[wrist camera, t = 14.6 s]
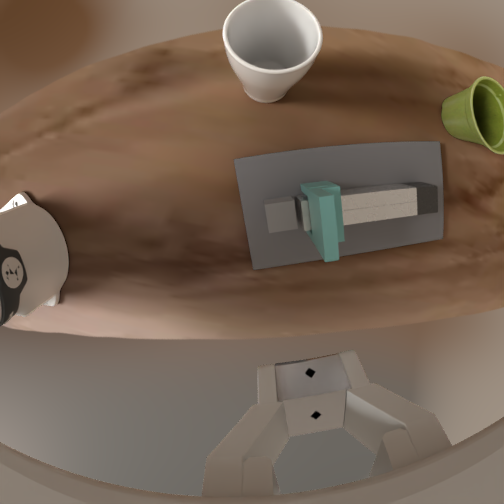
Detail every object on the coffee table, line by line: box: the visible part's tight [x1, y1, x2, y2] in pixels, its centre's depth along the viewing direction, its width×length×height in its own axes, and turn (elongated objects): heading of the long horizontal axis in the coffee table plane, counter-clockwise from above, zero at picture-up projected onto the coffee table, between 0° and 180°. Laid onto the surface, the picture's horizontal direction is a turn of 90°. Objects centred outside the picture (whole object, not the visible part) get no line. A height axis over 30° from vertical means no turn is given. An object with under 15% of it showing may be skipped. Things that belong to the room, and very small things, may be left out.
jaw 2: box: [297, 199, 438, 231], centre depth 29 cm, size 16×2×4 cm, turn 99°
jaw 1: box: [295, 182, 438, 216], centre depth 29 cm, size 16×2×4 cm, turn 99°
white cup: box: [223, 0, 323, 103], centre depth 21 cm, size 7×7×15 cm
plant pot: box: [441, 76, 504, 154], centre depth 24 cm, size 9×9×9 cm
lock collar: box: [300, 181, 345, 262], centre depth 27 cm, size 3×6×10 cm, turn 10°
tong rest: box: [234, 141, 444, 270], centre depth 31 cm, size 26×13×4 cm, turn 99°
